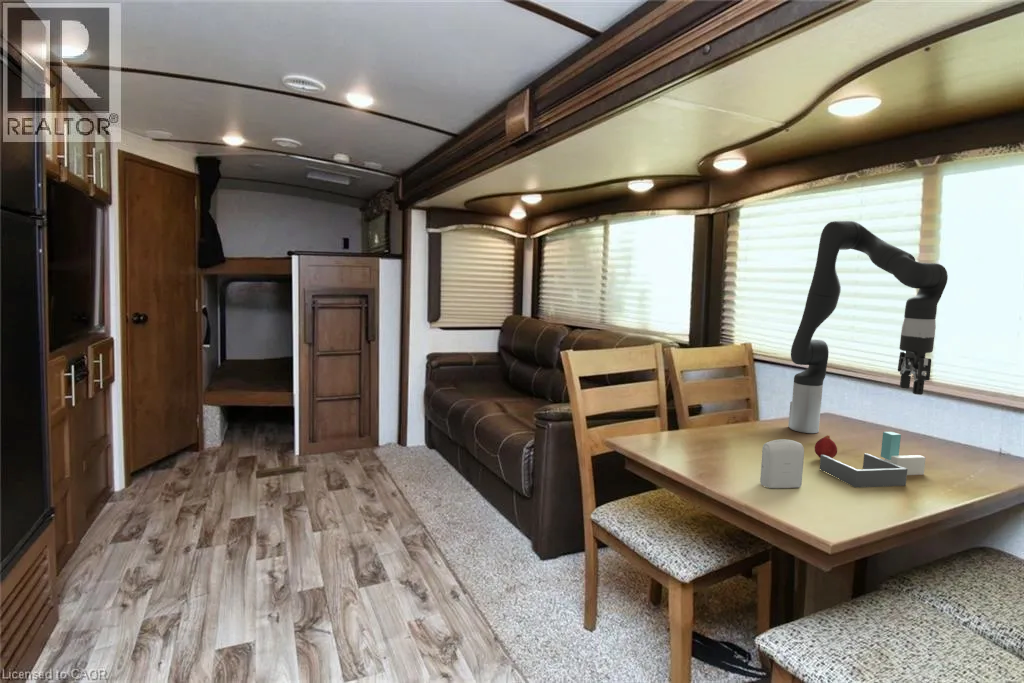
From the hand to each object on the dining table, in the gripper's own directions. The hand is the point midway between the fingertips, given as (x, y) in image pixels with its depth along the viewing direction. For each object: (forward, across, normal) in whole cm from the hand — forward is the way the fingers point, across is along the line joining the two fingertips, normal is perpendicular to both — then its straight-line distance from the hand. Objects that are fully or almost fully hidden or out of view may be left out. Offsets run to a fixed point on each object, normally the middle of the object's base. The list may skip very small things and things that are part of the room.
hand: (910, 391), depth 150 cm
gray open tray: (+23, +13, -14) cm, 30 cm away
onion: (+23, +1, -20) cm, 31 cm away
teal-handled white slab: (+23, +2, -2) cm, 23 cm away
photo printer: (+23, +28, -37) cm, 52 cm away
